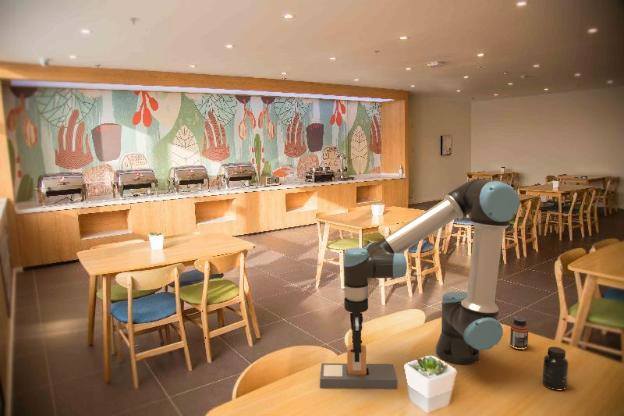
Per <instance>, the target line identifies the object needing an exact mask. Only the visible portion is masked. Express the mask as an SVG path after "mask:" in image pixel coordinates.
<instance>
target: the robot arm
mask: <svg viewBox="0 0 624 416" xmlns="http://www.w3.org/2000/svg"><path fill="white" fill-rule="evenodd" d="M519 209H520V197H519V194H518V192H517V191H516V190H515V188H514V187H513V186H511V185H510V184H509V183H508V184H507V183H505V182H503V181H501V180H500V181H498V180H492V179H486V178H475V179H471V180H469V181H466V182H465V183H463V184H461V185H460V186H458V187H456V188H454V189H453V190H452V191H450V192H448V193H447V194H446V195H445V196H444V199H443V200H441V201H440V202H438V203H437V204H435V205H433V206H431V207H430V208H428V210H426V211H424V212H422V213H421V214H419V215H418V216H416V217H415V218H413V219H411V221H409V222H407V223H405V224H404V225H403V226H401V227H400V228H397V229H396V230H394V231H393V232H392V233H390V234H389V235H387V236H385V237H383V238H382V239H381V240H379V241H372V242H369V243H367V244H366V246H365V247H364V248H363V247H360V248H359V247H351V248H348V249H346V250H345V251H344V255H343V279H344V280H343V281H344V284H343V285H344V286H342V287H341V288H342V290H343V291H344V299H343V302H344V303H343V304H344V310H345V311H347V312H348V313H349V318H350V330H351V332H352V334H351V339H352V341H351V345H353V349H351V352H353V370H361V352H362V350H361V345H362V344H363V340H362V331H363V321H364V317H363V313H365V312H366V311H368V310H369V279H370V280H372V279H377V280H378V279H397V278H403V277H405V276H406V274H407V272H408V271H407V270H408V265H407V259H406V256H405V254H403V253H404V252H405V251H407V250H409V249H411V248H412V247H413V246H415V245H416V244H418V243H420V242H421V241H423V240H424V239H426V238H427V237H429V236H431V235H432V234H434V233H436V232H437V231H438V230H441V228H443V227H445V226H447V225H448V224H450V223H451V222H452V221H455V220H456V219H464V217H466V216H468V215H470V223H471V224H472V225H473V227H474V229H473V239H472V247H471V255H470V265H469V273H468V279H467V280H468V281H467V289H466V291H449V292H446V293H444V294H443V295H442V300H441V331H440V335H439V338H438V340H437V343H436V345H435V347H436V348H435V354H436V355H437V357H439V359H442V360H444V361H445V362H448V363H451V362H452V364H456V363H458V364H457V365H468V364H467V363H471V364H473V363H472V362H474V363H476V362H478V361H479V360H480V358H479V357H480V355H481V351H486V350H490V349H493V347H495V346H496V345H498V344H499V343H500V341H501V340H502V337H503V334H504V330H503V326H502V324H501V322H500V321H499V320H498V318H499V306H498V305H497V303H495V300H496V292H497V282H498V275H499V268H500V261H501V253H502V252H501V251H502V244H503V235H504V231H505V230H506V229H507V228H508V227H510V225H511V224H510V221H511V220H512V219H513V218H514V216H515V215H517V213H518V212H519ZM478 359H479V360H478ZM477 360H478V361H477ZM475 361H476V362H475ZM459 363H460V364H459Z"/></svg>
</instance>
